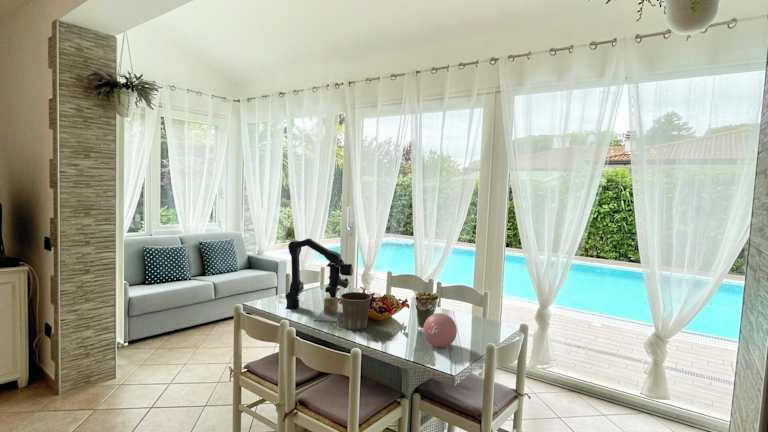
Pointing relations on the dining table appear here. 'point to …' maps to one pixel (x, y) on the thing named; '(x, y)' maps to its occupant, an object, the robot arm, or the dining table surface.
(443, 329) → the pink ball
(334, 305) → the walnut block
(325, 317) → the mat
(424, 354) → the dining table surface
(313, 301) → the dining table surface
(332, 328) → the dining table surface
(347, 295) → the plant pot
